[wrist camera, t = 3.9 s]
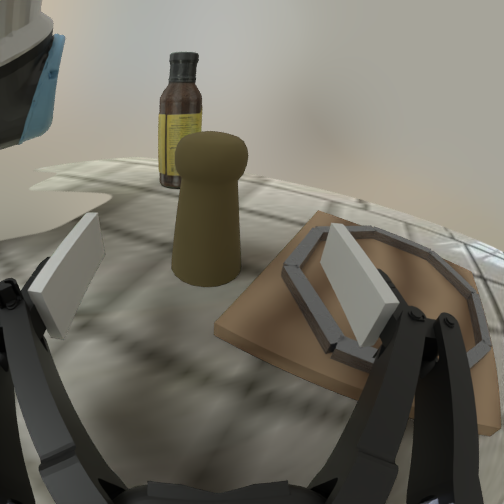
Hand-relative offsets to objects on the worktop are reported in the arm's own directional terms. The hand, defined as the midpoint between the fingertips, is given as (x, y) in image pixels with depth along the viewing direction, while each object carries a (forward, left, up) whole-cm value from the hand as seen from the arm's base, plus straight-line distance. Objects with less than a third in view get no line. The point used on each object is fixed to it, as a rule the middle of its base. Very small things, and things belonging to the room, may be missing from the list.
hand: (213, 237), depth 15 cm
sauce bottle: (-20, +19, -7) cm, 28 cm away
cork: (-4, +5, -7) cm, 9 cm away
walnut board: (+12, +10, -6) cm, 17 cm away
